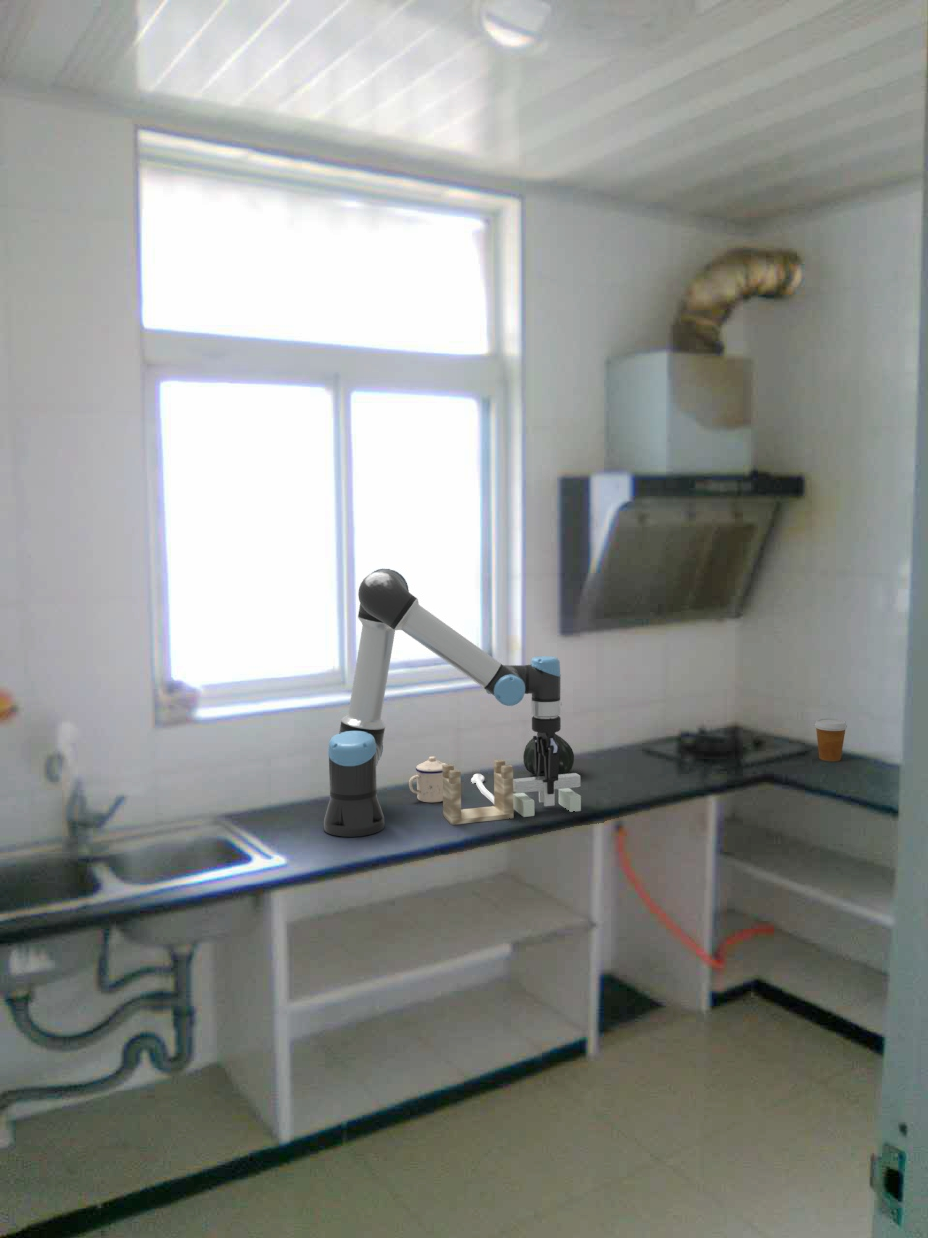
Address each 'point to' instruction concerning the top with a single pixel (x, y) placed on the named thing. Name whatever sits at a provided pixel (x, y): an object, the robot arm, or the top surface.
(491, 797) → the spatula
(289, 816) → the top surface
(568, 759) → the squash
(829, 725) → the disposable coffee cup
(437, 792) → the teacup with lid
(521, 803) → the rest
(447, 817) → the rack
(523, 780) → the rail
